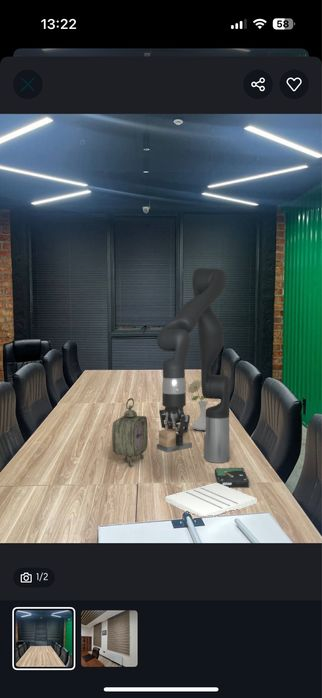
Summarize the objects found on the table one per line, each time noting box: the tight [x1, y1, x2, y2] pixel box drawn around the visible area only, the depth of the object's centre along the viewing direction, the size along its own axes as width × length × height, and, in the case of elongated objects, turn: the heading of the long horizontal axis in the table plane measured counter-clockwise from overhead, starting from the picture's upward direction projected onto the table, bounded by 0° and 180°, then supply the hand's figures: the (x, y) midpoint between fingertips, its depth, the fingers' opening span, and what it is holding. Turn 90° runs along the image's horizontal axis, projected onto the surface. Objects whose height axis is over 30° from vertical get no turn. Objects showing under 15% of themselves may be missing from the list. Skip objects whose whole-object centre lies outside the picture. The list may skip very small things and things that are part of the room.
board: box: [164, 482, 258, 516], centre depth 152 cm, size 18×21×2 cm
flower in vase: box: [187, 379, 209, 431], centre depth 247 cm, size 13×11×25 cm
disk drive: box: [214, 467, 250, 489], centre depth 172 cm, size 10×3×15 cm
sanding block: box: [156, 427, 193, 453], centre depth 162 cm, size 10×6×6 cm, turn 126°
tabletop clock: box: [111, 397, 149, 468], centre depth 193 cm, size 14×9×25 cm, turn 160°
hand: (174, 443), depth 162 cm, fingers closed on sanding block, 4 cm apart
